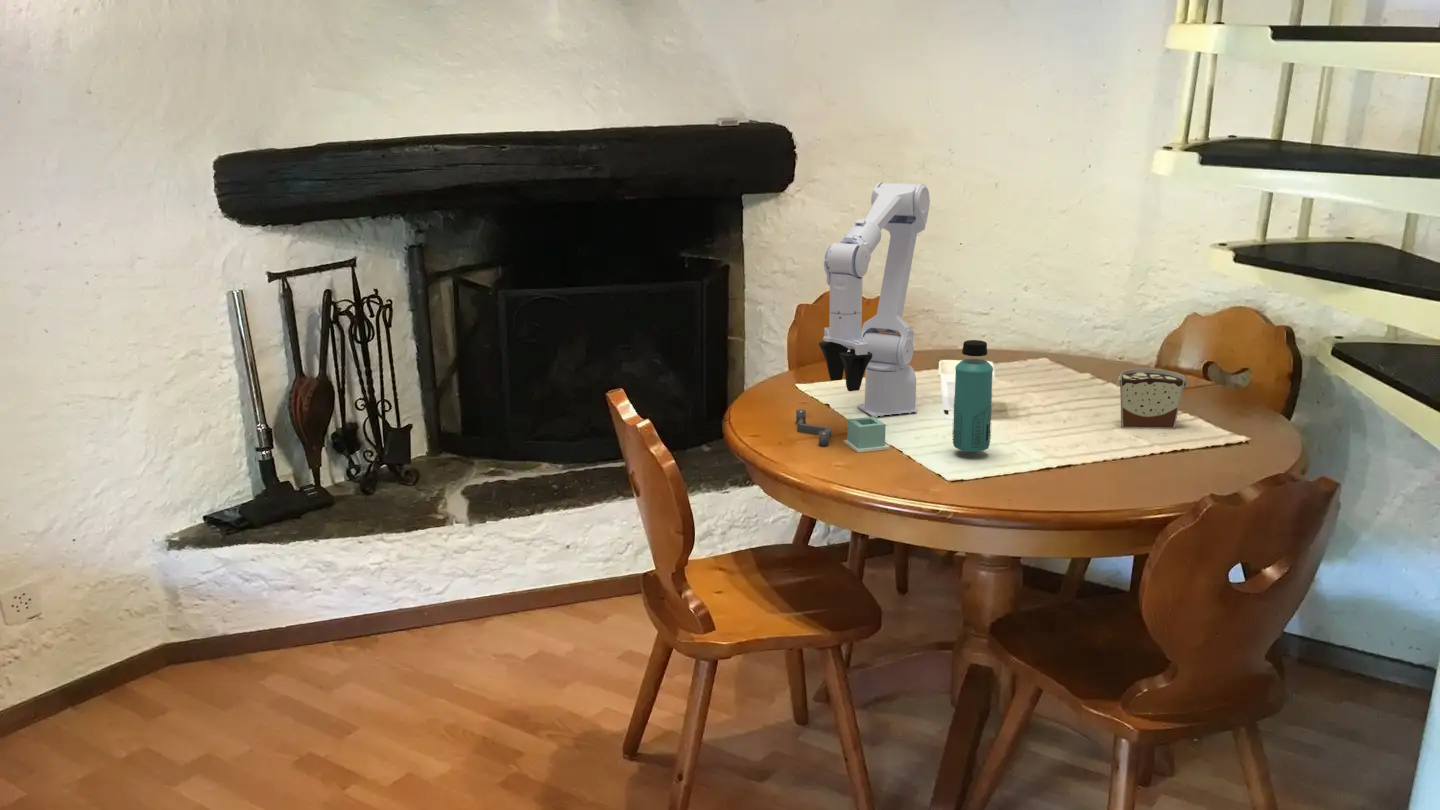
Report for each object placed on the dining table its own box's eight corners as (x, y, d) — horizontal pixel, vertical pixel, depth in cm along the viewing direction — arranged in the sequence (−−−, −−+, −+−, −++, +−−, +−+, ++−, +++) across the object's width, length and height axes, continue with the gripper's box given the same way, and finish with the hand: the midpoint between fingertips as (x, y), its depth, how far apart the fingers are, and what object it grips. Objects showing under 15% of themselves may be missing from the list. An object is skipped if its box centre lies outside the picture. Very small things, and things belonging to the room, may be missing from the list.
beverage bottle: (990, 461, 189) (996, 346, 183) (950, 459, 190) (955, 345, 184) (989, 449, 195) (995, 337, 189) (950, 447, 196) (955, 336, 191)
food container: (1173, 419, 210) (1178, 368, 207) (1182, 429, 204) (1188, 376, 201) (1105, 418, 211) (1110, 367, 208) (1113, 428, 205) (1118, 375, 203)
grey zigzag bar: (811, 420, 213) (811, 408, 212) (843, 444, 198) (843, 431, 198) (787, 422, 212) (787, 410, 211) (817, 447, 197) (817, 434, 196)
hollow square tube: (873, 437, 200) (873, 416, 199) (884, 446, 196) (885, 424, 195) (847, 440, 199) (847, 419, 198) (858, 448, 194) (859, 427, 193)
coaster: (875, 439, 201) (875, 436, 201) (889, 449, 196) (889, 446, 195) (844, 442, 199) (844, 440, 199) (857, 452, 194) (857, 450, 194)
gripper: (809, 305, 202) (808, 377, 206) (841, 321, 189) (840, 397, 193) (844, 302, 204) (843, 373, 208) (879, 317, 191) (877, 393, 195)
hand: (844, 385), depth 201 cm, fingers open, 7 cm apart
